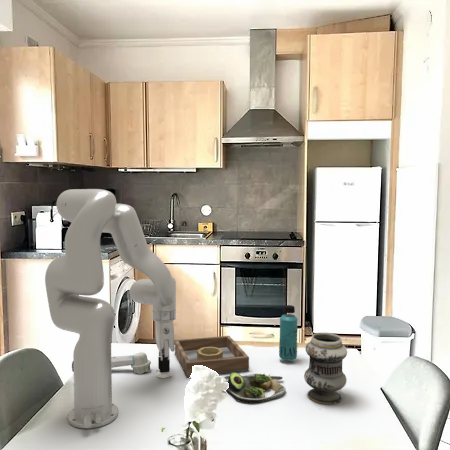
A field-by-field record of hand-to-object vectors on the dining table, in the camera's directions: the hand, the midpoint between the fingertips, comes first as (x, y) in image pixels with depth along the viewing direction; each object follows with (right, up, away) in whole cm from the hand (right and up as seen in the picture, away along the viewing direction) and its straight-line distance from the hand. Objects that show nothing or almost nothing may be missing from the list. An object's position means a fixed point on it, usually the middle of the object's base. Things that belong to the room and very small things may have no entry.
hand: (164, 369), depth 142 cm
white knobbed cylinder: (-18, -2, +3) cm, 18 cm away
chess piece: (0, -2, 0) cm, 2 cm away
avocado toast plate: (+28, -3, -10) cm, 30 cm away
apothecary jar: (+49, -3, -14) cm, 51 cm away
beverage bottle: (+42, -1, +13) cm, 44 cm away
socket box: (+15, -1, +11) cm, 19 cm away
